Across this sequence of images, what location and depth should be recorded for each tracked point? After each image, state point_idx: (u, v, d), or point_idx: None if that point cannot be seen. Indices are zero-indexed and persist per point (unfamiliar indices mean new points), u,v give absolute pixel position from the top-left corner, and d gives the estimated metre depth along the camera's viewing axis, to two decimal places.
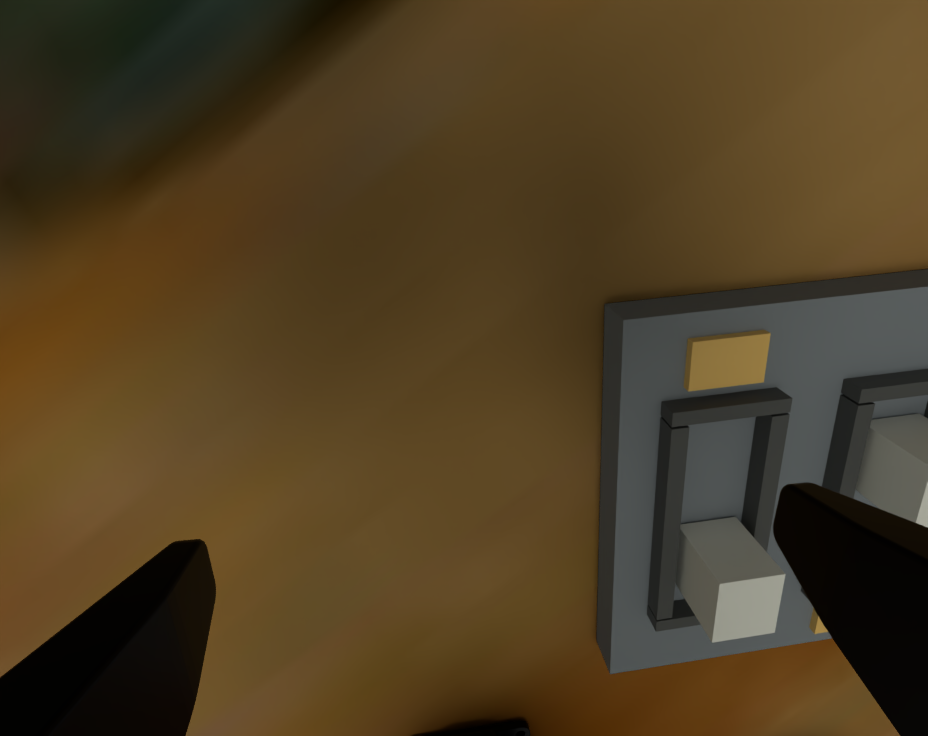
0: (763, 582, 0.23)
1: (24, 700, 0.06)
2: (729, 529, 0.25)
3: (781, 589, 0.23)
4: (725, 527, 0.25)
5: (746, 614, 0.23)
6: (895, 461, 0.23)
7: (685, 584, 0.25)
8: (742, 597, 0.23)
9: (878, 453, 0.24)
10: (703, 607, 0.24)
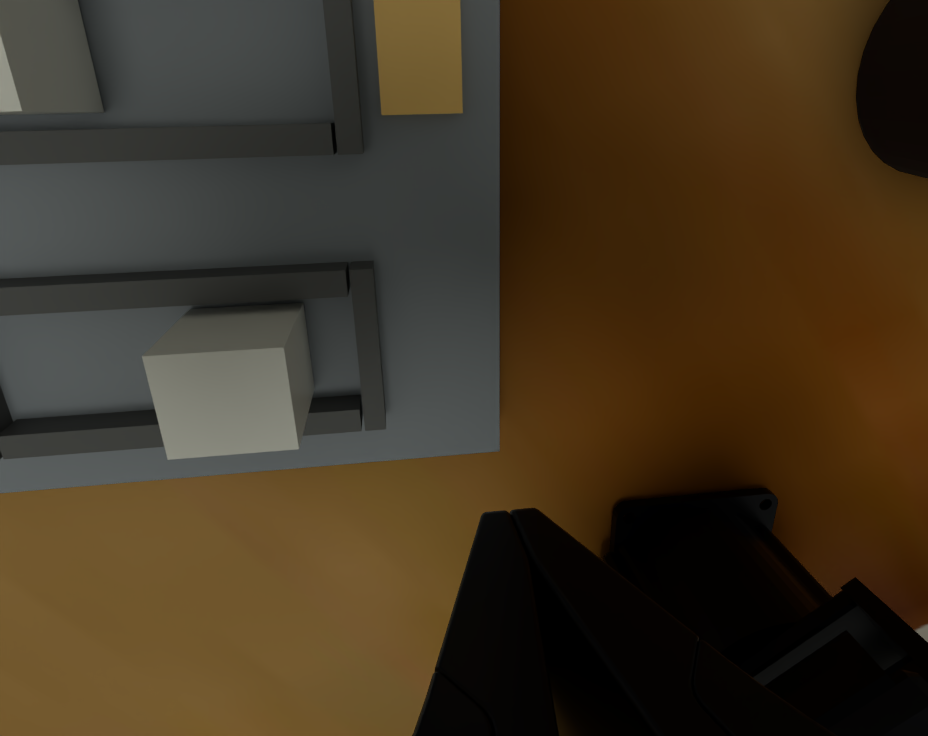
0: (163, 390, 0.13)
1: (496, 644, 0.06)
2: None
3: (178, 357, 0.13)
4: None
5: (235, 405, 0.14)
6: None
7: None
8: (197, 419, 0.14)
9: None
10: None
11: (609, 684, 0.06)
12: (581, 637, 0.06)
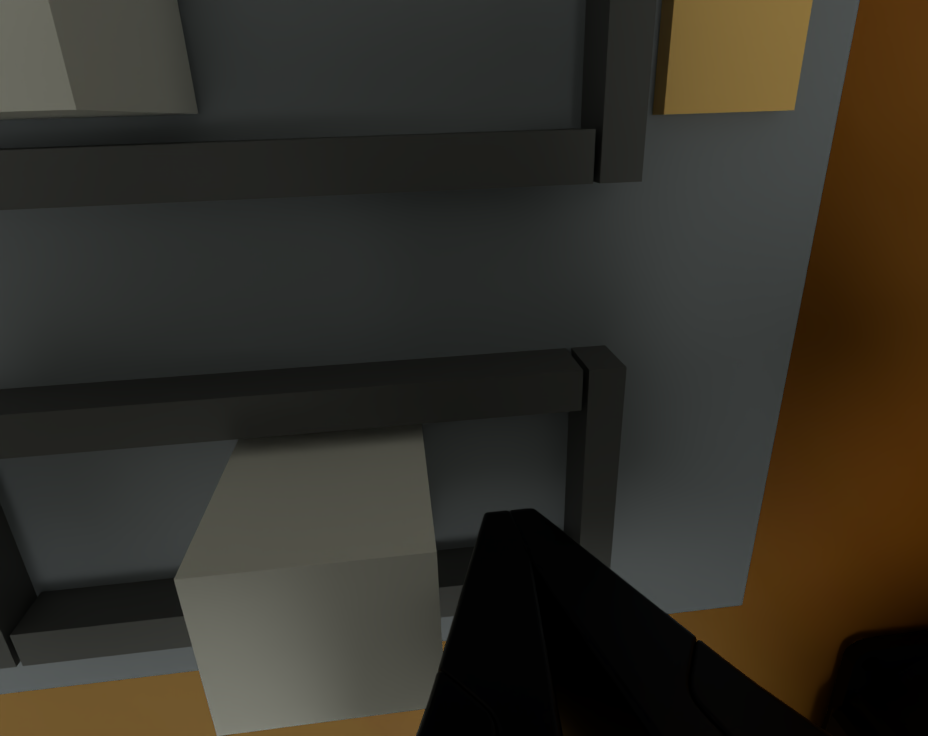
0: (212, 632, 0.07)
1: (499, 644, 0.06)
2: None
3: (242, 577, 0.07)
4: None
5: (342, 648, 0.07)
6: None
7: None
8: (273, 672, 0.07)
9: None
10: None
11: (606, 685, 0.06)
12: (578, 638, 0.06)
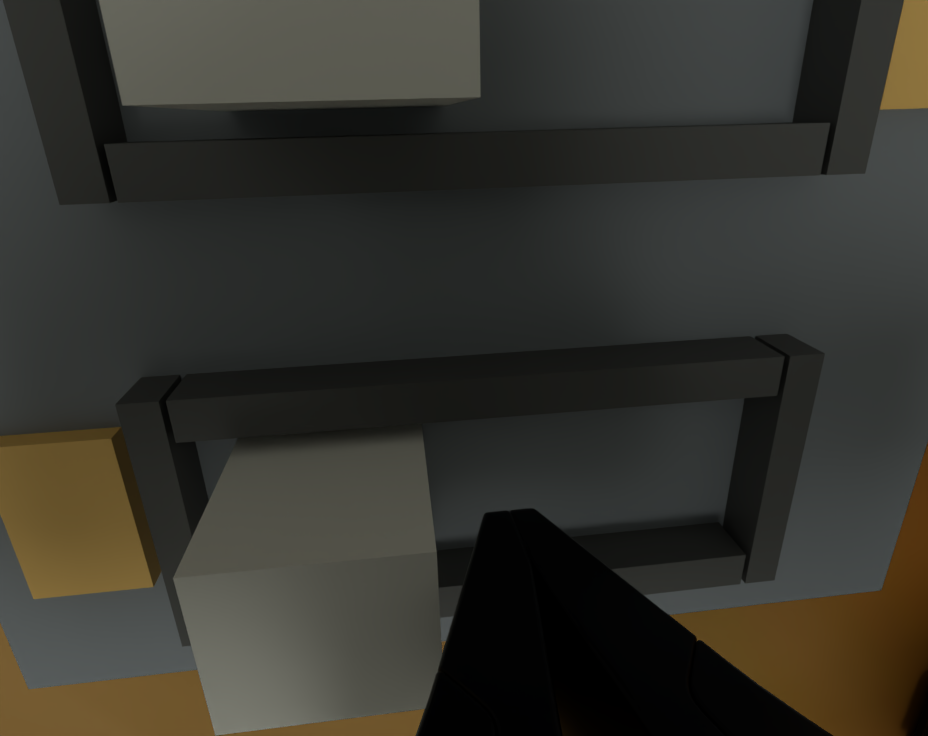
0: (211, 631, 0.07)
1: (499, 644, 0.06)
2: None
3: (242, 576, 0.07)
4: None
5: (341, 647, 0.07)
6: (244, 108, 0.06)
7: None
8: (273, 671, 0.07)
9: (271, 107, 0.07)
10: None
11: (607, 685, 0.06)
12: (579, 637, 0.06)
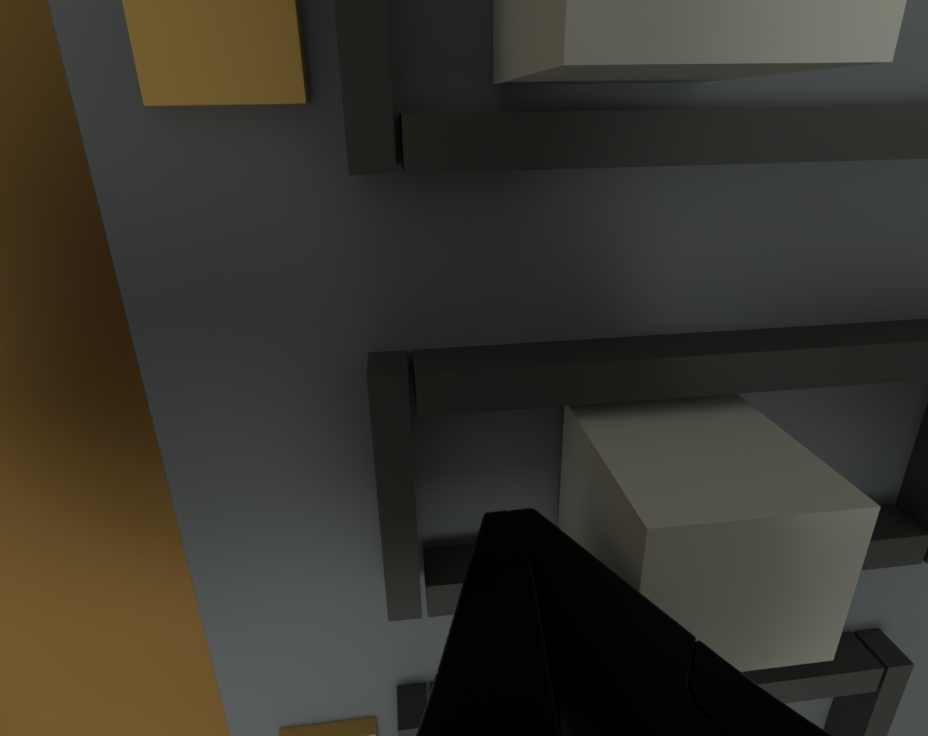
0: None
1: (499, 644, 0.06)
2: None
3: None
4: None
5: None
6: None
7: None
8: None
9: None
10: None
11: (606, 685, 0.06)
12: (578, 637, 0.06)
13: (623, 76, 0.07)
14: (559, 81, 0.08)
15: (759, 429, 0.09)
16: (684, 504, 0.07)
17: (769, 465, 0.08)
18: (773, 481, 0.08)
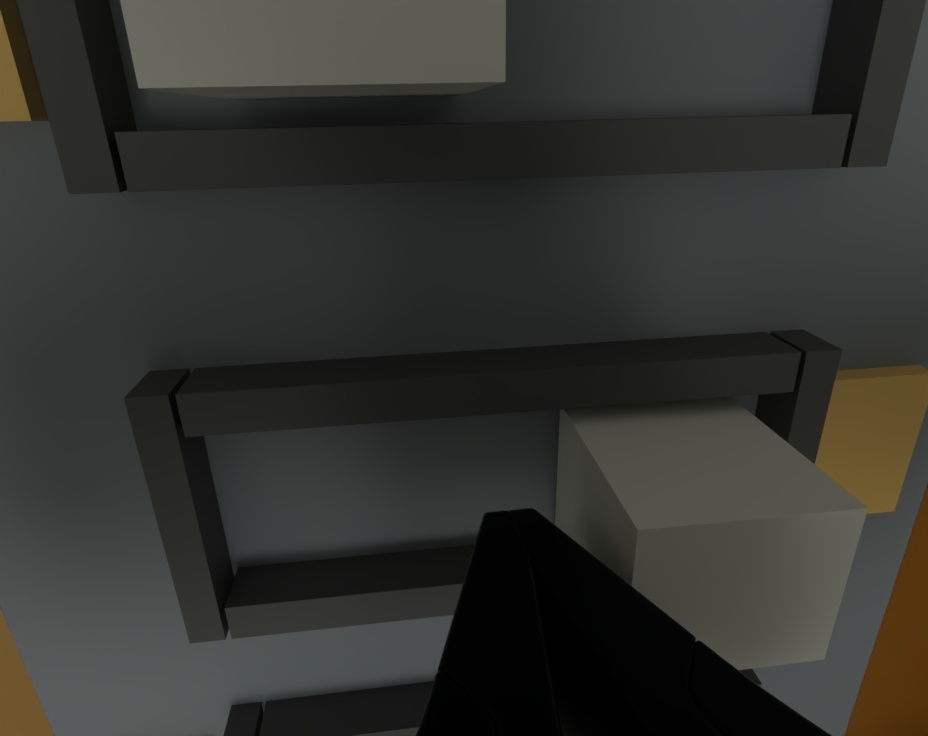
0: None
1: (499, 644, 0.06)
2: None
3: None
4: None
5: None
6: None
7: None
8: None
9: None
10: None
11: (606, 685, 0.06)
12: (578, 638, 0.06)
13: (316, 93, 0.07)
14: (284, 97, 0.07)
15: (751, 431, 0.09)
16: (675, 505, 0.08)
17: (759, 467, 0.08)
18: (762, 483, 0.08)
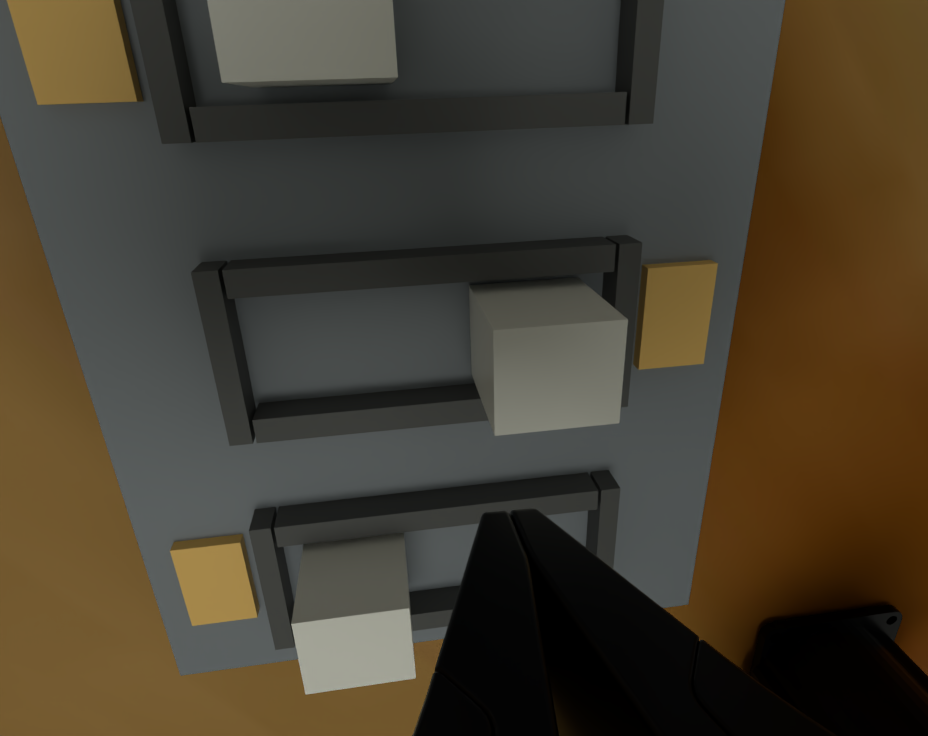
0: (306, 646, 0.16)
1: (496, 644, 0.06)
2: None
3: (321, 622, 0.15)
4: None
5: (366, 652, 0.16)
6: None
7: None
8: (333, 663, 0.16)
9: None
10: None
11: (609, 684, 0.06)
12: (581, 637, 0.06)
13: (305, 83, 0.12)
14: (286, 85, 0.13)
15: (583, 293, 0.15)
16: (519, 322, 0.13)
17: (577, 307, 0.14)
18: (575, 313, 0.14)
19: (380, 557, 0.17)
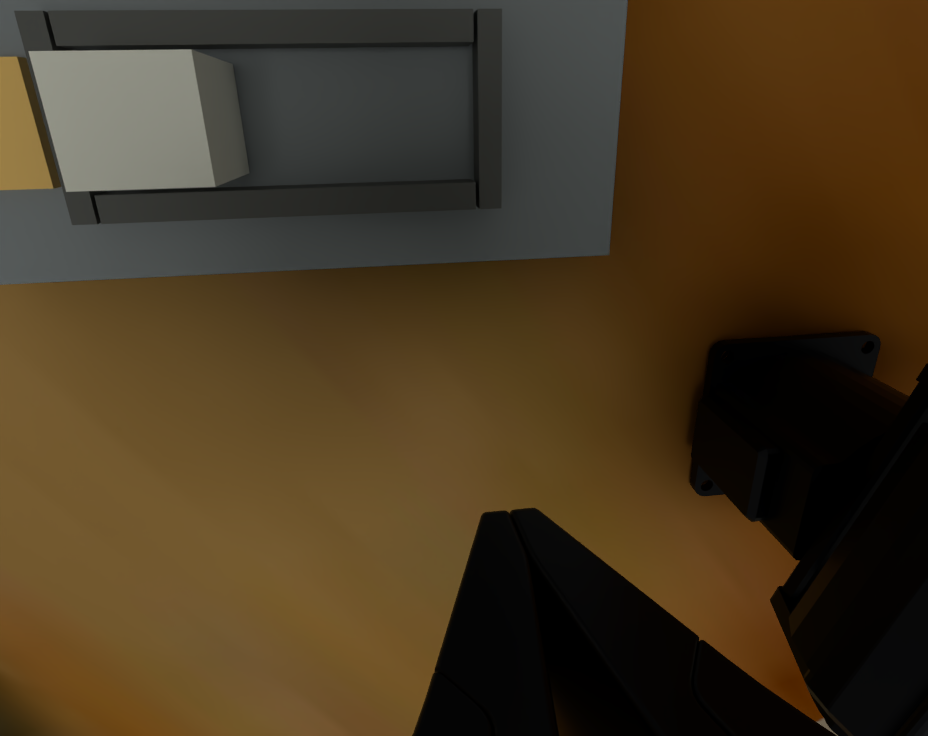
0: (56, 99, 0.12)
1: (496, 645, 0.06)
2: None
3: (70, 54, 0.12)
4: None
5: (140, 124, 0.12)
6: None
7: None
8: (97, 139, 0.12)
9: None
10: None
11: (609, 684, 0.06)
12: (581, 637, 0.06)
13: None
14: None
15: None
16: None
17: None
18: None
19: None
